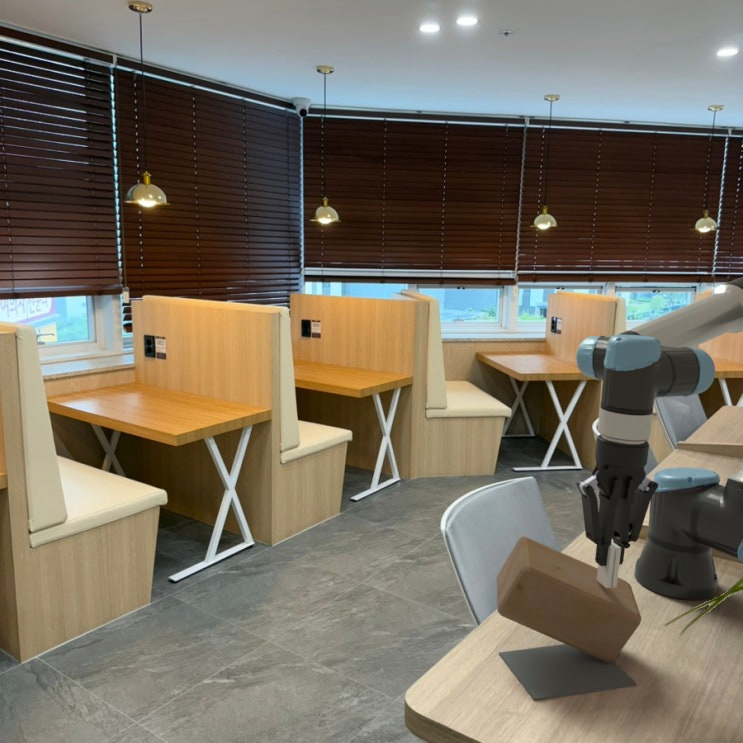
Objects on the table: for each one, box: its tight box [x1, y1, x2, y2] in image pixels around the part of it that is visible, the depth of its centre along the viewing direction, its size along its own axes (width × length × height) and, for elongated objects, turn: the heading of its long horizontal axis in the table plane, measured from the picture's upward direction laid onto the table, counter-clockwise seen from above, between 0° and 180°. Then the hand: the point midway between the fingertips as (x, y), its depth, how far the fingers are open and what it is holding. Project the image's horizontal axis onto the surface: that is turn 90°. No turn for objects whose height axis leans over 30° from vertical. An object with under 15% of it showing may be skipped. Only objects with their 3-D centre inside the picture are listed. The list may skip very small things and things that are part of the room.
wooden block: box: [496, 536, 642, 663], centre depth 111 cm, size 10×10×20 cm
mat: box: [498, 643, 638, 701], centre depth 107 cm, size 17×12×1 cm
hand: (606, 583), depth 108 cm, fingers closed
